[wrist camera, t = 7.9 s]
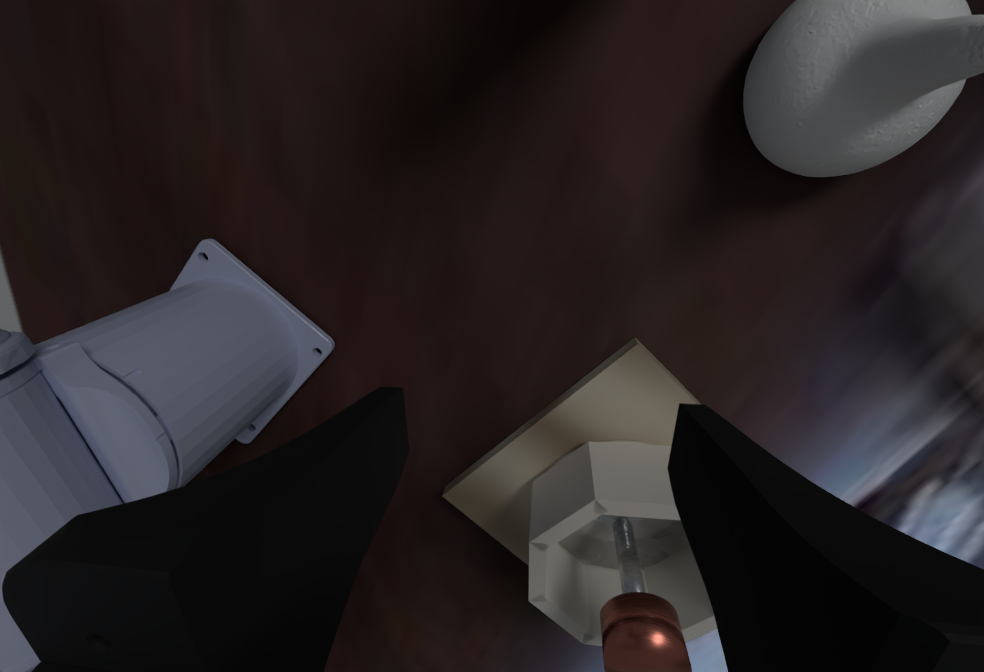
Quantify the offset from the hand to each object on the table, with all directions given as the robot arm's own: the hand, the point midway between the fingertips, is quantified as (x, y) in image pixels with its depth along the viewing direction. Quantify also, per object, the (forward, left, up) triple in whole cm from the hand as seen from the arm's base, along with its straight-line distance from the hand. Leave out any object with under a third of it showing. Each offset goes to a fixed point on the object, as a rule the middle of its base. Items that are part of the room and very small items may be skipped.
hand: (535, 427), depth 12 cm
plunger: (-5, -11, -9) cm, 15 cm away
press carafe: (-5, -11, -10) cm, 16 cm away
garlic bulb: (+13, -1, -11) cm, 17 cm away
